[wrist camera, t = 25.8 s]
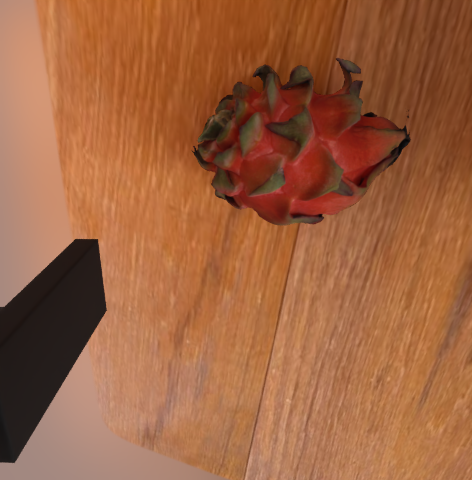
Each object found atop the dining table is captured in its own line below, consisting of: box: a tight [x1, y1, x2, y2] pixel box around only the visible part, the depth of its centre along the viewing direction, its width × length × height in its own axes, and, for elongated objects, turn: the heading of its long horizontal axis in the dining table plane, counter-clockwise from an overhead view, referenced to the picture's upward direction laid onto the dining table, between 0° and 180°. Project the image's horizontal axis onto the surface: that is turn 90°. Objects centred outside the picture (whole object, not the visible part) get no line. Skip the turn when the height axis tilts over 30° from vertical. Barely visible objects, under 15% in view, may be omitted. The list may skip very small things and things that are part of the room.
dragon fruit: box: [192, 58, 410, 225], centre depth 24 cm, size 8×8×12 cm
